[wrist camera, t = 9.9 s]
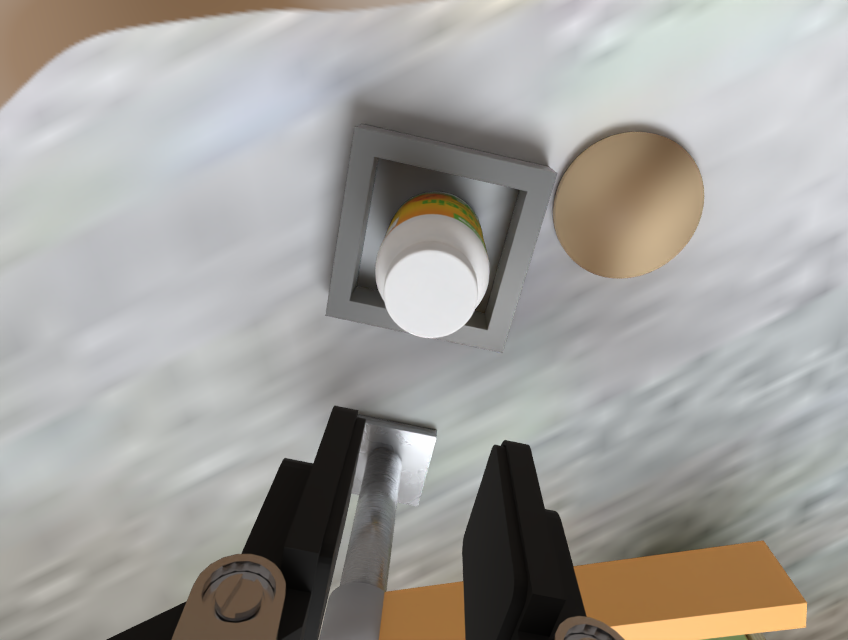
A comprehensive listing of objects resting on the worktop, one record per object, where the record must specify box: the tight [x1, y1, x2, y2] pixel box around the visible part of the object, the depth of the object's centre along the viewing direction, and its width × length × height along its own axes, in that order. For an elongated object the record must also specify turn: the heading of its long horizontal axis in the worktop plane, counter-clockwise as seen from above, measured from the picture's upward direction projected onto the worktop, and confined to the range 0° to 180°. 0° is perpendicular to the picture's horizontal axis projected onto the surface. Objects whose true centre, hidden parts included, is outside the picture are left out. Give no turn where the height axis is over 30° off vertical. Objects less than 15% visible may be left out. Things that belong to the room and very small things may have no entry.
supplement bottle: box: [375, 191, 489, 338], centre depth 27 cm, size 5×5×10 cm
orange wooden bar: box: [319, 541, 807, 640], centre depth 24 cm, size 21×3×3 cm, turn 103°
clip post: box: [340, 415, 437, 592], centre depth 32 cm, size 6×6×12 cm
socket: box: [326, 124, 557, 353], centre depth 30 cm, size 10×10×2 cm
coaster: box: [553, 132, 704, 278], centre depth 30 cm, size 8×8×1 cm
